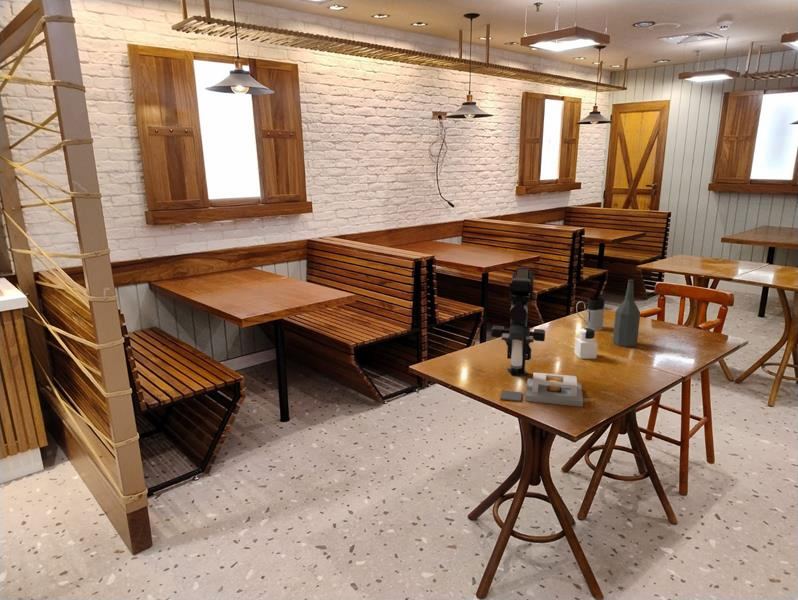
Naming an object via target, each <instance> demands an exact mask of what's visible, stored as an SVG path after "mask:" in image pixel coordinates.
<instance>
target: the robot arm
mask: <svg viewBox="0 0 798 600" xmlns="http://www.w3.org/2000/svg"><path fill="white" fill-rule="evenodd" d="M534 285H535V274H534V273H533V272H531V269H530V268H529V267H523V266H522V267H521V266H519V267H516V271H514V272H513V273H512V277H511V282H509V288H508V298H507V299H508V302H511V305H510V306H511V307H510V309H509V317H510V323H509V324H510V325H509V329H508V328H507V329H505V326H503V325H493V326H492V328H491V331H490V337H492V338H498V339H499V338H501V340H502V341H504V342H505V344H506V346H507V349H506V350H507V354H506V356H507V357H506V359H510V360H511V353H512V340H519V341H522V340H523V356H522V368H520V369H514V368H512V367H511V364H510V368H509V367H508V368H507V371H508V373H509V374H510V373H511V374H510V375H511V376H513V375H514V376H528V375H529V374H528V371H526V363H527V361H530V360H532V348H531V346H530V344H531V343H534V341H535V342H537V341H538V342H545V340H546V330H545V329H543V328H542V329H541V328H540V329H539V328H534V329H533V331H532V330H531V327H530V326H528V309H529V303H531V301H532V300H533V298H534V297H533V296H534V287H535V286H534Z"/></svg>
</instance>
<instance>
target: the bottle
mask: <svg viewBox="0 0 798 600" xmlns="http://www.w3.org/2000/svg"><path fill="white" fill-rule="evenodd" d="M634 291H635V289H634V279H628V280H627V288H626V291H625V296H624V300H623V301H622V302H621V303H620V305H619V306H618V307H617V309H616V310H615V315H614V325H613V337H612V342H613V344H614V345H616V346H619V347H621V348H622V347H623V348H633V346H634V347H636V345H638V341H639V340H638V339H639V331H640V329H639V328H640V319H641V311H640V309H639V308H638V305H637V304H636V302H635V301H634V299H635V298H634V294H635V293H634Z"/></svg>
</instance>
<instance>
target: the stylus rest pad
mask: <svg viewBox="0 0 798 600" xmlns="http://www.w3.org/2000/svg"><path fill="white" fill-rule="evenodd" d="M522 395H523V392H521V391H511V390H502V391H501V395H500V399H502V400H501V401H507V400H510V402H516V401H518V402H517V403H521V402H522Z"/></svg>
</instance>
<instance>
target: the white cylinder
mask: <svg viewBox="0 0 798 600" xmlns="http://www.w3.org/2000/svg"><path fill="white" fill-rule="evenodd" d="M522 356H523V340H522V341H519V340H512V353H511V359H510V365H511V367H512V368H514V369H520V368H522Z"/></svg>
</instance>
